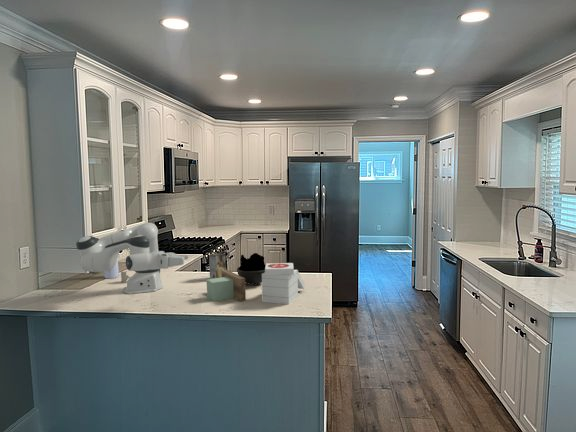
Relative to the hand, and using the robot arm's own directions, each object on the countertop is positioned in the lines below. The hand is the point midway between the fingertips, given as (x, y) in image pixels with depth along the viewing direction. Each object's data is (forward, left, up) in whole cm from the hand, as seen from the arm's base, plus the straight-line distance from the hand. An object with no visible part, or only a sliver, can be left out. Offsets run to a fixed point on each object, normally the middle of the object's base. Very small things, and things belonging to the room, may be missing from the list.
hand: (187, 257), depth 227 cm
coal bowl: (+46, +16, -24) cm, 54 cm away
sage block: (+18, 0, -24) cm, 30 cm away
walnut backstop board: (+26, 0, -24) cm, 35 cm away
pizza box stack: (+48, -17, -25) cm, 57 cm away
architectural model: (-20, +67, -25) cm, 74 cm away
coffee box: (+33, +42, -25) cm, 59 cm away
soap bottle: (-25, +87, -24) cm, 94 cm away
